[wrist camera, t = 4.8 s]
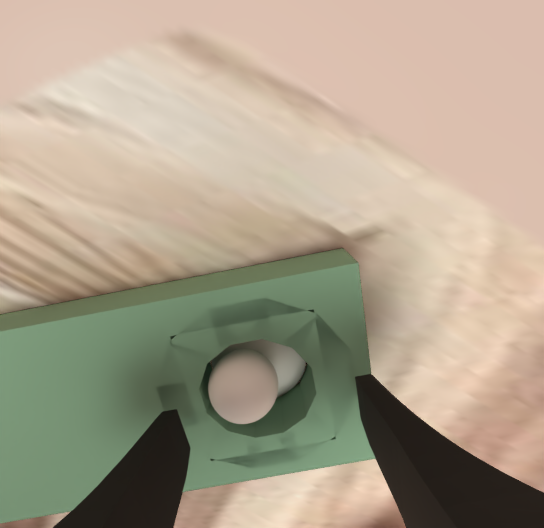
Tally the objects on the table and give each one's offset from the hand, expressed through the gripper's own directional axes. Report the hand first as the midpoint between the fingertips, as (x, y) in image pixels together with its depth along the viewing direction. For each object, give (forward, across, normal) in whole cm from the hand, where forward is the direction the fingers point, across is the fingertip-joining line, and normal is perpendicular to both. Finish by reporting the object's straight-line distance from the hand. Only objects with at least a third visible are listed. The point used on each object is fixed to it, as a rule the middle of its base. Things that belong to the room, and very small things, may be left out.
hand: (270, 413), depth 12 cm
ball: (+2, +1, 0) cm, 2 cm away
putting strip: (+4, +8, 0) cm, 8 cm away
